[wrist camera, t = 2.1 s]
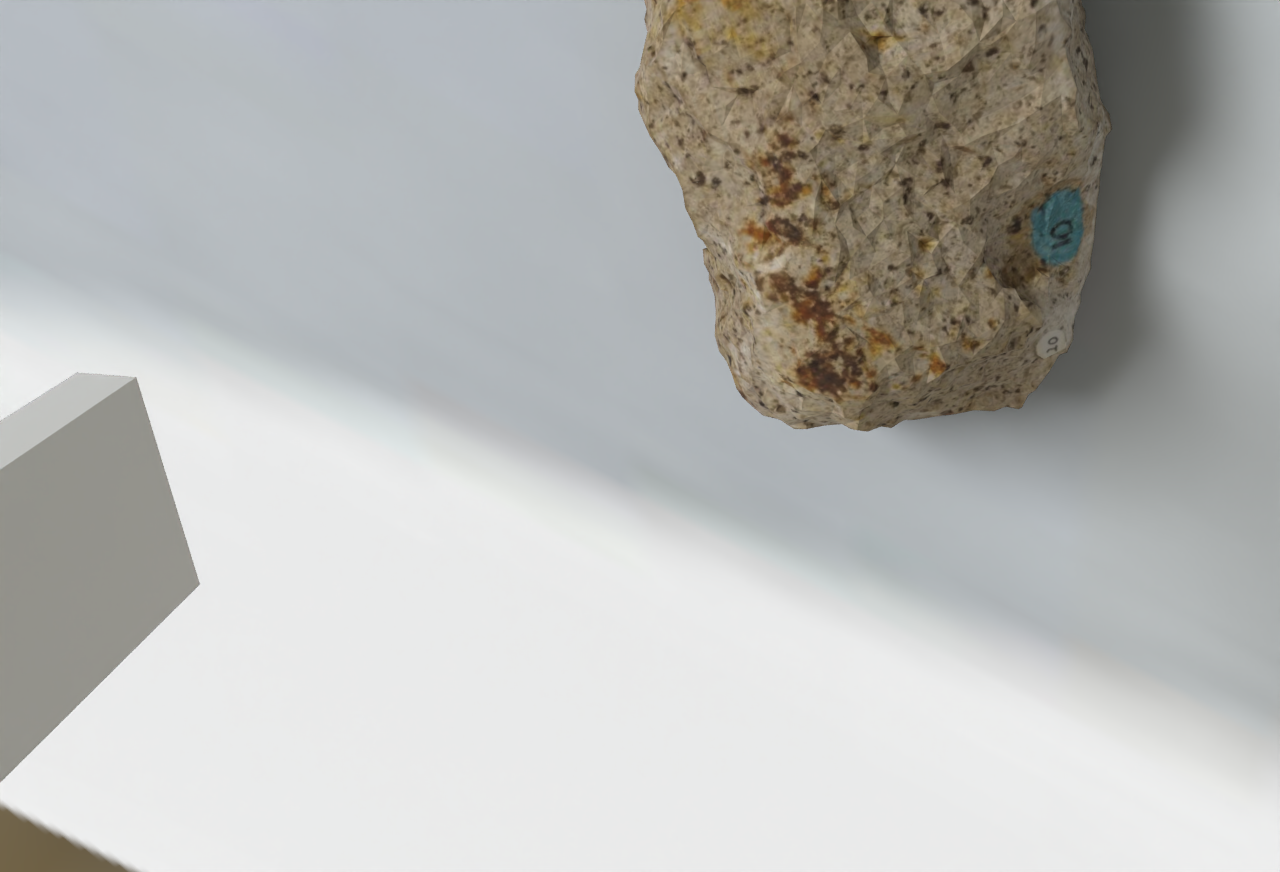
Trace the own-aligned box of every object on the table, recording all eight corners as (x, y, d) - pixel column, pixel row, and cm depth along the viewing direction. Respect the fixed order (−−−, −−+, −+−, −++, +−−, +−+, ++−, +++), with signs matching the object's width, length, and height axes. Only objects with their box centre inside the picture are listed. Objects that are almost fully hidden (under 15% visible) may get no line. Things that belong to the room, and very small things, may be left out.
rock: (758, 395, 26) (719, 501, 22) (628, -134, 21) (550, -110, 17) (1121, 352, 23) (1145, 464, 19) (1069, -269, 18) (1088, -275, 14)
